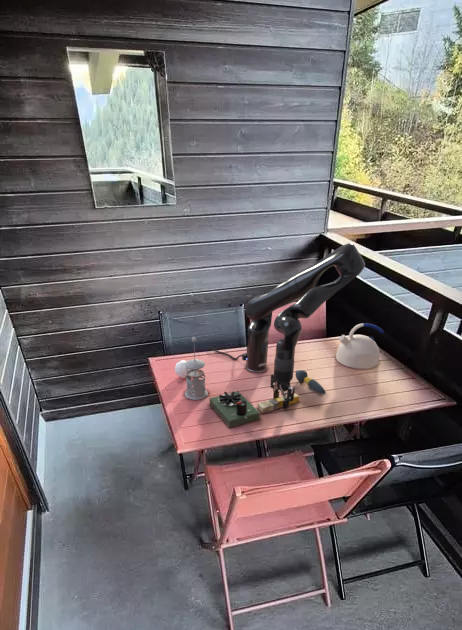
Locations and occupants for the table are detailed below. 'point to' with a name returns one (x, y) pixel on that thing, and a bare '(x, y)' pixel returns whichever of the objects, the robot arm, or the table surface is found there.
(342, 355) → the kettle
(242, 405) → the stove knob
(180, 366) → the ball
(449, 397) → the table surface
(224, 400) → the burner
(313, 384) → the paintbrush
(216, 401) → the stove
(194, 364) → the french press
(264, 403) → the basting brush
